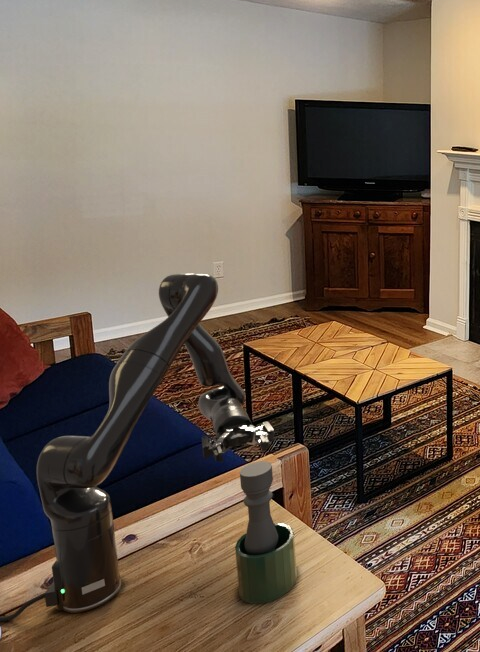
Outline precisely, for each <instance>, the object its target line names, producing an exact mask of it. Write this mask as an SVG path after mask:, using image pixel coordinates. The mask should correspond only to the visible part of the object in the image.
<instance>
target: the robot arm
mask: <svg viewBox="0 0 480 652" xmlns="http://www.w3.org/2000/svg"><path fill="white" fill-rule="evenodd" d="M218 295H219V285H218V281H217V279H216V278H215V277H214V276H213V275H210V274H206V273H173V274H169V275H167V276H165V277H164V278H163V280H161V282H160V284H159V287H158V298H159V302H160V305H161V307H162V308H163V310H164V312H165V314H166V316H167V318H165V319H164V320H163V321H161V322H160V323H158V324H157V325H156V326H154V327H153V328H151V329H150V330H148V331H147V332H145V333H144V334H142V335H141V336H140V337H138V338H137V339H135V340H134V341H133V342H132V343H131V344H130V345H129V346H128V347H127V349H126V350H125V351H124V352H123V354H122V356H121V357H120V358H119V359H118V361H117V363H116V364H115V366H114V367H113V369H112V370H111V373H110V376H109V381H108V397H109V398H108V399H109V405H108V409H107V413H106V415H105V416H104V418H103V420H102V421H101V423H100V425H99V427H98V428H97V429H96V430H95V432H94V433H93V434H92V435H91V436H85V435H63V436H62V435H61V436H58V437H56V438H53V439H52V440H50V441H49V442H48V443H47V444H46V445H44V447H43V449H42V450H41V451H40V454H39V456H38V459H37V464H36V480H37V486H38V489H39V494H40V495H39V496H40V499H41V504H42V509H43V512H44V514H45V515H46V517H48V519H49V520H50V524H51V530H52V538H53V544H54V552H55V559H56V560H55V561H54V562H53V564H51V565H52V566H51V574H52V580H53V581H52V582H51V584H50V585H49V587H48V588H47V589H46V591H45V592H44V593H42V594H39V595H37V596H36V597H34V598H32V599H30V600H28V601H27V602H24V603H23V604H22V605H21V606H20V607H19V608H18V609H17V610H16V611H15V612H14V613H12V614H10V615H7V616H0V623H2V622H7V621H10V620H13V619H15V618H17V617H19V616H20V615H21V613H23V612H24V610H26V609H27V608H28V607H30V606H32V605H33V604H34V603H37V602H38V601H40V600H43V599H44V600H45V607H46V608H50V607H55V606H56V608H57V609H56V610H57V611H58V612H59V611H64V612H66V613H71V614H72V613H73V614H76V613H84V612H87V611H91V610H93V609H96V608H99V607H101V606H103V605H104V604H106V603H108V602H109V601H110V600H112V599H113V598H114V597H115V596H116V595H117V594H118V593H119V591H121V588H122V580H121V574H120V567H119V566H120V565H119V558H118V549H117V543H116V533H115V526H114V525H115V524H114V518H113V509H112V500H111V497H110V494H109V493H108V492H107V491H105V490H104V489H101V488H99V487H98V485H100V484H102V483H103V482H104V481H105V480H106V479H107V478H108V477H109V475H110V474H111V472H112V471H113V469H114V468H115V466H116V464H117V462H118V460H119V458H120V456H121V454H122V453H123V451H124V448H125V446H126V444H127V442H128V440H129V438H130V436H131V435H132V432H133V430H134V428H135V426H136V424H137V422H138V421H139V419H140V417H141V416H142V413H144V411H145V408H146V407H147V405H148V403H149V401H150V400H151V398H152V397H153V395H154V393H155V391H156V390H157V389H158V387H159V386H160V385H161V383H162V382H163V379H164V378H165V376H166V375H167V373H168V372H169V370H170V368H171V366H172V364H173V363H174V361H175V359H176V357H178V354H179V353H180V351H181V350H182V348H183V347H185V348H186V350H187V352H188V353H187V354H188V355H189V358H190V360H191V362H192V366H193V368H194V371H195V375H196V378H197V380H198V382H199V384H200V385H201V386H203V387H207V388H208V387H209V388H210V387H215V386H219V387H216V388H213V389H210V390H207V391H205V392H204V393H203V394H201V395H200V396H199V398H198V403H197V406H198V409H199V412H200V414H201V415H202V416H203V417H204V418H205V419H207V420H208V421H211V422H212V429H213V432H214V434H215V436H214V437H209V436H208V435H204V436H201V447H202V449H201V450H202V456H203V459H208V458H210V457H211V456H212V457H213V459H214V461H215V462H219V464H220V463H223V462H224V456H223V455H224V454H225V453H226V452H228V451H229V450H230V449H231V448H235V447H238V446H241V445H242V446H243V445H251V446H255V445H259V446H260V448H261V450H262V452H266V451H267V450H268V449H269V448H270V442H274V441H275V429H274V428H273V427H272V425H271V423H270V422H269V421H263V422H262V424H261V426H260V425H259V426H255V425H253V422H252V421H251V418H250V417H249V414H248V413H247V411H246V409H245V408H244V407H243V406H244V405H245V402H246V393H245V391H244V389H243V388H242V386H241V385H240V384H239V383H238V381H237V380H236V379H235V378H234V376H233V374H232V373H231V371H230V369H229V366H228V363H227V359H226V356H225V353H224V351H223V348H222V346H221V345H220V343H219V342H218V341H217V340H216V339H215V338H214V337H213V335H212V334H210V333H209V331H208V330H207V329H205V327H204V326H203V325H202V324H201V322H202V320H204V318H205V316H207V314H209V312H210V311H211V309H212V307H213V306H214V304H215V302H216V300H217V298H218V297H217V296H218Z"/></svg>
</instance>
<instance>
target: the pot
mask: <svg viewBox="0 0 480 652" xmlns="http://www.w3.org/2000/svg"><path fill="white" fill-rule="evenodd" d="M273 523H274V525H275V528H276V531H277V533H278V542H277V545H276V547H275V550H274V551H272V552H269V553H266V554H262V555H249V554H248V553H247V551H246V549H245V545H244V543H245V538H246V533H247V532H245V533H244V534H242V535H241V536H240V537H239V538H238V540H237V541H236V543H235V546H234V551H235V552H234V553H235V563H236V574H237V575H236V576H237V586H238V589H237V590H238V596H239V598H240V599H241V600H242V601H243V602H245V603H248V604H256V605H257V604H258V605H259V604H264V603H269V602H273V601H274V600H277V599H279V598H281V597H283V596H284V595H286V594H287V593H288V592H289V591H290V590H291V589H292V588H293V587H294V585H295V583H296V582H297V576H298V573H297V572H298V569H297V557H296V545H295V544H296V543H295V532H294V529H293V528H292V527H291V526H290V525H289V524H285V523H281V522H280V523H277V522H276V523H275V522H273Z"/></svg>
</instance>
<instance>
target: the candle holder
mask: <svg viewBox="0 0 480 652" xmlns="http://www.w3.org/2000/svg"><path fill="white" fill-rule="evenodd" d="M273 477H274V476H273V465H272V463H271V462H269V461H265V460H259V461H254V462H251V463H248V464H246V465H244V466H243V467H242V468H241V469H240V471H239V481H240V488H241V490H242V492H243V494H245V497H244V498H243V504H244V506H245V507H246V508H247V512H248V513H247V515H248V522H247V528H246V532H245V533H246V538H245V543H244V545H245V549H246V551H247V553H248V554H249V555H262V554H266V553H269V552H272V551H274V550H275V547H276V545H277V542H278V533H277V531H276V528H275V525H274V523H275V522H274V520H273V518H272V515H271V505H270V502H271V501H272V500H273V495H274V494H273V492H272V491H271V490H270V489H271V487H272V485H273V481H274V478H273Z"/></svg>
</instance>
